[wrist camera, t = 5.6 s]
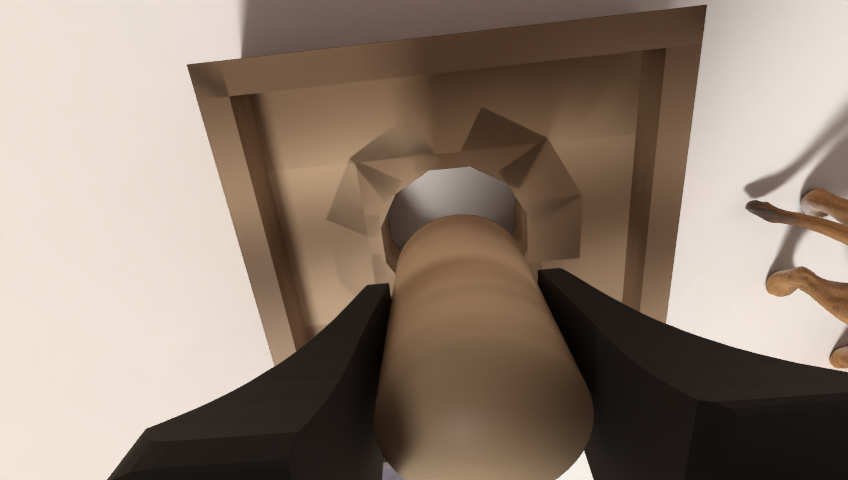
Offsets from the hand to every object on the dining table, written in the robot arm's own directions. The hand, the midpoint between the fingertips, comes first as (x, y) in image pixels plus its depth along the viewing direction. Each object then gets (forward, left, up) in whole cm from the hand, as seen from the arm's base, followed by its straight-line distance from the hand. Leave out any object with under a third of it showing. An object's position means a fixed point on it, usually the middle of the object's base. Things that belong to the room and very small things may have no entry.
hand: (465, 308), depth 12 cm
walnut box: (0, 0, -8) cm, 8 cm away
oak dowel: (0, 0, -2) cm, 2 cm away
